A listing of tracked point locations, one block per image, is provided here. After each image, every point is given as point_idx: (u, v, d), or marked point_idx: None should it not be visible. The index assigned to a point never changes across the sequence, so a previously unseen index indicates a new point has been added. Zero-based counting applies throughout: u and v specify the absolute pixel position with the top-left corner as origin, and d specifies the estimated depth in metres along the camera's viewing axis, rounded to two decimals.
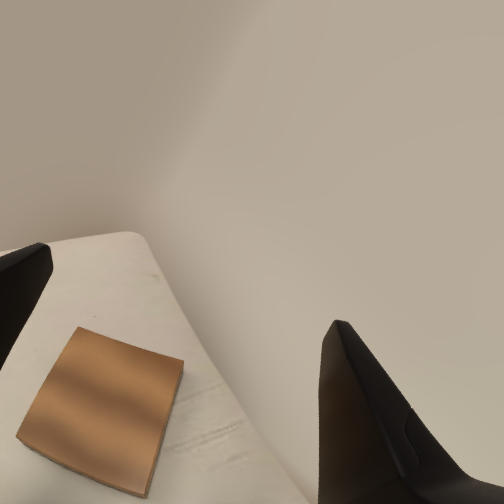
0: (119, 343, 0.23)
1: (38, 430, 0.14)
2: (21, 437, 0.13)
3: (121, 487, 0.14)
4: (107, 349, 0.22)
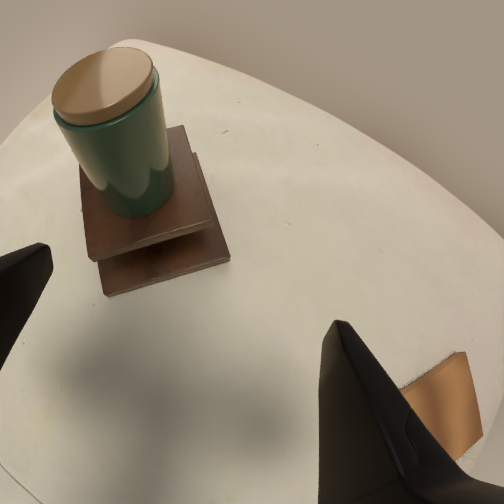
0: (473, 391, 0.21)
1: None
2: None
3: None
4: (466, 390, 0.21)
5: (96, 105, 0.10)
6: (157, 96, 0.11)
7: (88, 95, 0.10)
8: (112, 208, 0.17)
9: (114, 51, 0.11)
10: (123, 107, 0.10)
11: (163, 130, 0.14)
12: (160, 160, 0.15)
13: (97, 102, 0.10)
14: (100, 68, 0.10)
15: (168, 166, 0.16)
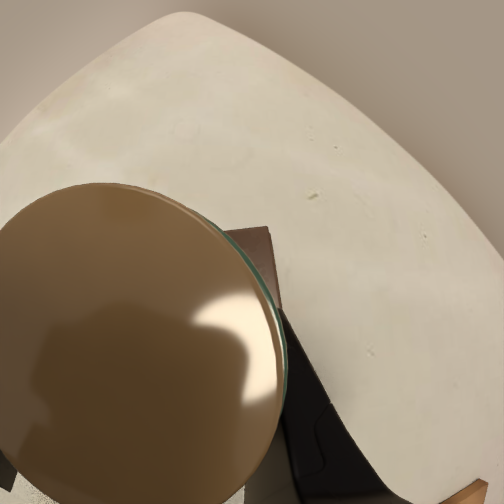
0: None
1: None
2: None
3: None
4: None
5: None
6: None
7: (69, 459, 0.03)
8: None
9: (124, 217, 0.03)
10: None
11: None
12: None
13: (109, 503, 0.03)
14: (76, 322, 0.03)
15: None
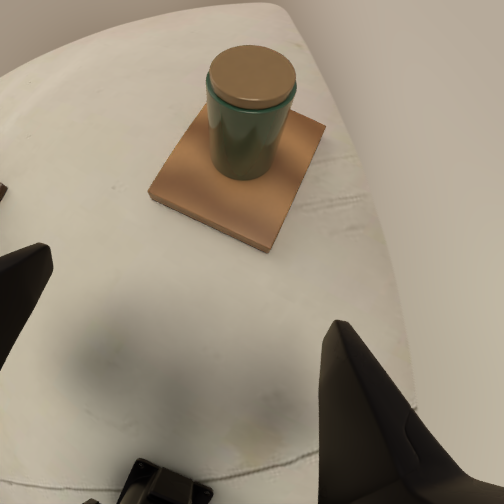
0: None
1: (173, 183, 0.22)
2: (154, 191, 0.22)
3: (250, 239, 0.22)
4: None
5: (255, 96, 0.14)
6: None
7: (246, 85, 0.14)
8: (223, 169, 0.21)
9: (261, 50, 0.15)
10: (275, 102, 0.14)
11: (286, 120, 0.18)
12: (277, 141, 0.19)
13: (256, 93, 0.14)
14: (252, 62, 0.14)
15: (278, 146, 0.20)
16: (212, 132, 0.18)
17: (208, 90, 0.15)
